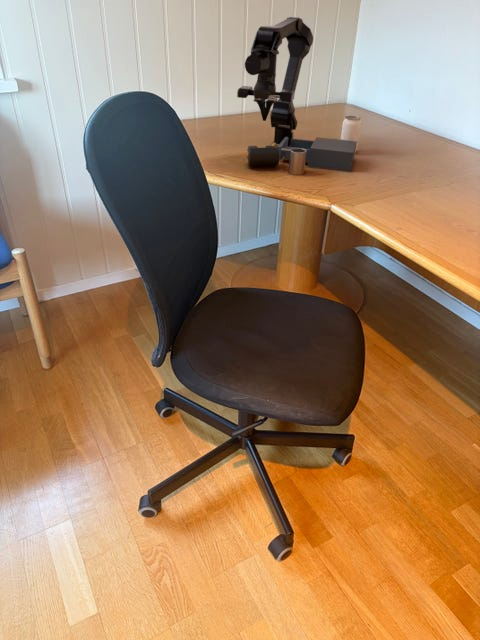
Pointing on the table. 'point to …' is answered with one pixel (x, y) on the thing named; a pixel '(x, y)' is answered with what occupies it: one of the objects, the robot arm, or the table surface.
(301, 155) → the measuring cup
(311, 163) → the cabinet
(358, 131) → the can
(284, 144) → the drawer
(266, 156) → the end cap
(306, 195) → the table surface
